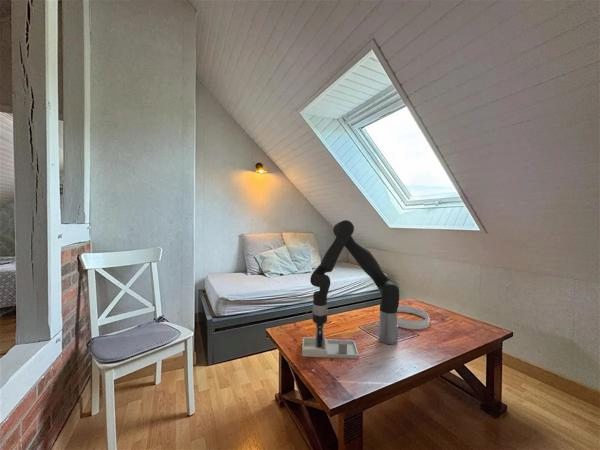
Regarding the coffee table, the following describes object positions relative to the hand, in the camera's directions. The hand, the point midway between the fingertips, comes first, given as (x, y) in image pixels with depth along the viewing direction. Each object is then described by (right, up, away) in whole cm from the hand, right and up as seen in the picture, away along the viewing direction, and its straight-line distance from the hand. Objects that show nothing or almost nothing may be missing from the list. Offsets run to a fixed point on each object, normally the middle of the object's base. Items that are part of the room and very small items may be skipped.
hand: (319, 344), depth 130 cm
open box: (-3, -3, 0) cm, 4 cm away
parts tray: (+12, -4, +1) cm, 12 cm away
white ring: (+62, -2, +38) cm, 72 cm away
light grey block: (+11, -3, -3) cm, 12 cm away
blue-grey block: (0, -1, 0) cm, 1 cm away
